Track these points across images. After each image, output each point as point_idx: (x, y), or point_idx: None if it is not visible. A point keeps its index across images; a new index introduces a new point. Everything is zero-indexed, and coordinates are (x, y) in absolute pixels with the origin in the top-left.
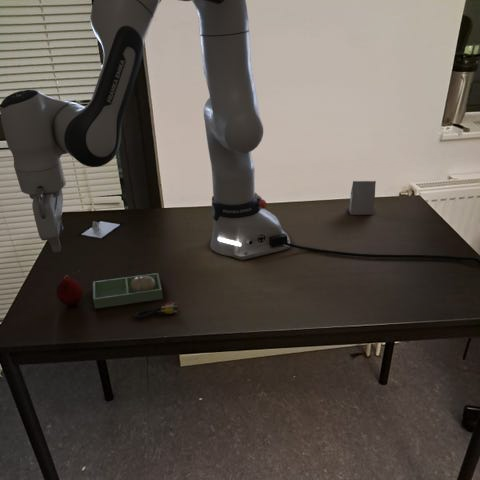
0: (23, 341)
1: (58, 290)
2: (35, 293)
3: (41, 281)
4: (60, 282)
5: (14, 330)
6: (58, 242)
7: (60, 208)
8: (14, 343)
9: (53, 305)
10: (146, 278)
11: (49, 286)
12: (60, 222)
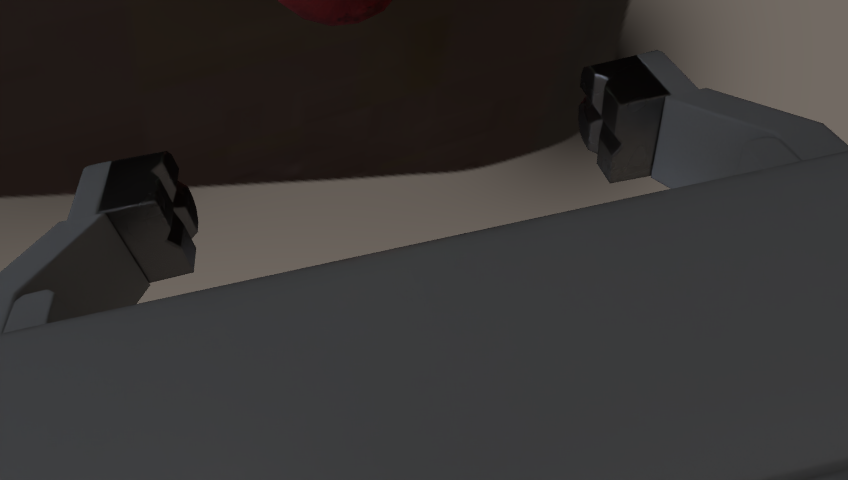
0: None
1: (386, 6)
2: (203, 139)
3: (75, 145)
4: (351, 10)
5: (503, 133)
6: (731, 102)
7: (237, 371)
8: None
9: None
10: None
11: (122, 92)
12: (645, 212)
